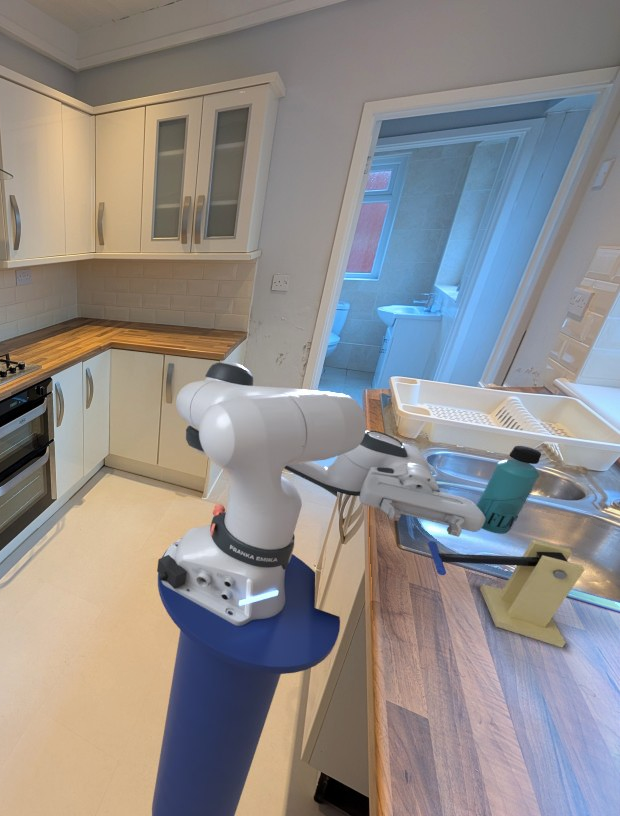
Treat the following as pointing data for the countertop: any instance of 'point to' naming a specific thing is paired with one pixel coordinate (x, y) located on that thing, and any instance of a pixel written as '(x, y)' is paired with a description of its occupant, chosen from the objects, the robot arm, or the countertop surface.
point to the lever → (486, 558)
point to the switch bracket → (534, 595)
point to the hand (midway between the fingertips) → (424, 525)
